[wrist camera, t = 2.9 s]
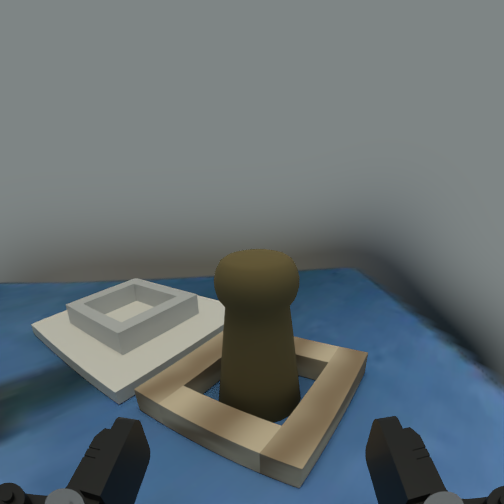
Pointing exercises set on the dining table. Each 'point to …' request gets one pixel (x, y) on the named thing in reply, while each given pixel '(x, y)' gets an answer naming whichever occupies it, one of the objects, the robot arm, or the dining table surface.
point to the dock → (130, 333)
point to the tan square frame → (251, 427)
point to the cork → (258, 333)
